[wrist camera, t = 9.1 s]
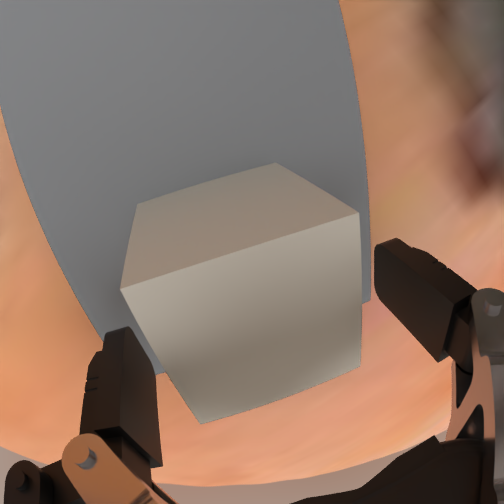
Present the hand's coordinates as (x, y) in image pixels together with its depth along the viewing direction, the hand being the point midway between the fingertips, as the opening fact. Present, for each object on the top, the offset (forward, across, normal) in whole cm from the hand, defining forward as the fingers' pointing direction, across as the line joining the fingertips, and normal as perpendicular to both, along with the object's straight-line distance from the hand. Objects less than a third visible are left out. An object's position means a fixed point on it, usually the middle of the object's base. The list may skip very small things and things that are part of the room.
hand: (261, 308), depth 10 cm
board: (+6, 0, -7) cm, 9 cm away
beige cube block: (+4, 0, 0) cm, 4 cm away
